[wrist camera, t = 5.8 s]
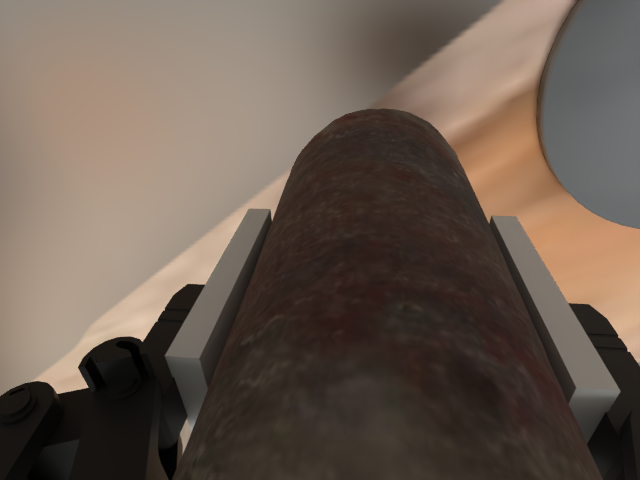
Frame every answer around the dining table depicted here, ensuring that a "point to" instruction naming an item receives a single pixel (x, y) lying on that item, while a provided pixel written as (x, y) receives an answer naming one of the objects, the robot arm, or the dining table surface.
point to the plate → (595, 108)
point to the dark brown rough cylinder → (383, 331)
